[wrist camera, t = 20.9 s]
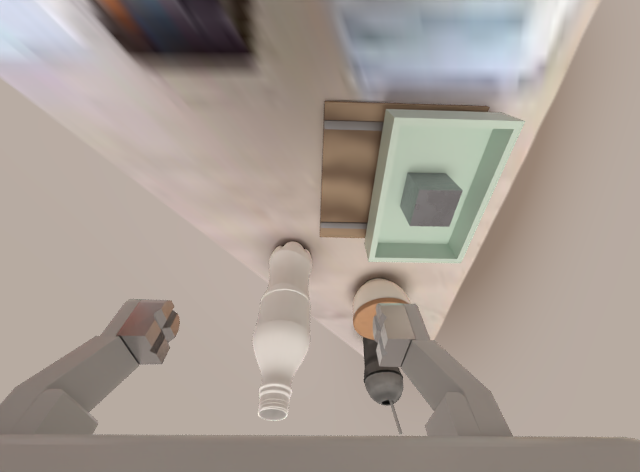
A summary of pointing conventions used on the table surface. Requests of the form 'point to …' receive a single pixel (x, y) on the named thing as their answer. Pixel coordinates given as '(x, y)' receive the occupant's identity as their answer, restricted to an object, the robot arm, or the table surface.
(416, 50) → the table surface
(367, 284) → the lidded jar
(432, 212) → the metal block
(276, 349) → the water bottle
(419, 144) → the mint green tray
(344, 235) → the track
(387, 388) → the beverage cup
